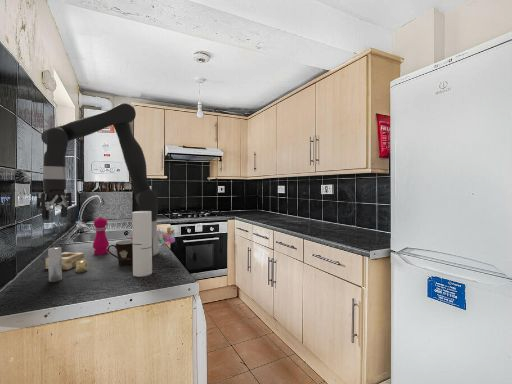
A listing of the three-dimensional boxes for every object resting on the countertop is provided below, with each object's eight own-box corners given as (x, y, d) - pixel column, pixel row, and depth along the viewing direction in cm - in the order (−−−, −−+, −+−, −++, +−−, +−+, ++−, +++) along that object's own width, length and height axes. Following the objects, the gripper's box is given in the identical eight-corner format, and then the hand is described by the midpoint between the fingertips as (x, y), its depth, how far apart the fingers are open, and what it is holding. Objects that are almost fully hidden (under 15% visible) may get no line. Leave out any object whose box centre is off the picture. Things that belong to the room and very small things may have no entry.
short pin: (89, 269, 115) (89, 260, 115) (82, 272, 111) (82, 262, 111) (80, 269, 116) (80, 259, 116) (73, 272, 112) (73, 262, 112)
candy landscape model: (144, 238, 180) (144, 224, 179) (179, 239, 179) (179, 225, 178) (124, 247, 155) (124, 231, 154) (165, 248, 154) (165, 232, 153)
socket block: (84, 262, 125) (84, 252, 125) (67, 269, 115) (67, 258, 115) (64, 261, 126) (63, 252, 126) (45, 268, 116) (45, 258, 116)
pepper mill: (101, 255, 137) (101, 215, 136) (89, 254, 139) (88, 215, 138) (112, 251, 144) (111, 214, 143) (100, 251, 146) (99, 213, 145)
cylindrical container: (136, 270, 114) (135, 211, 113) (154, 270, 114) (153, 210, 113) (130, 276, 106) (129, 213, 106) (149, 276, 107) (148, 212, 106)
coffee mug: (141, 262, 126) (141, 240, 125) (126, 267, 118) (126, 244, 117) (121, 259, 130) (121, 239, 129) (106, 265, 121) (105, 242, 121)
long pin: (64, 278, 105) (64, 247, 104) (56, 282, 101) (55, 249, 100) (54, 277, 105) (54, 247, 105) (46, 281, 101) (45, 249, 101)
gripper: (47, 177, 102) (48, 221, 102) (77, 178, 116) (77, 216, 117) (29, 177, 103) (30, 220, 103) (61, 178, 117) (61, 216, 118)
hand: (55, 218), depth 110 cm, fingers open, 8 cm apart
